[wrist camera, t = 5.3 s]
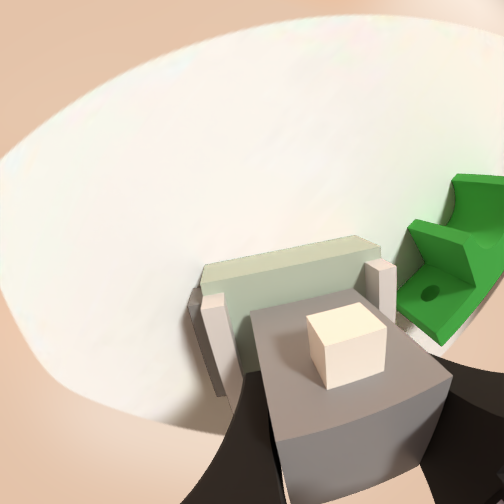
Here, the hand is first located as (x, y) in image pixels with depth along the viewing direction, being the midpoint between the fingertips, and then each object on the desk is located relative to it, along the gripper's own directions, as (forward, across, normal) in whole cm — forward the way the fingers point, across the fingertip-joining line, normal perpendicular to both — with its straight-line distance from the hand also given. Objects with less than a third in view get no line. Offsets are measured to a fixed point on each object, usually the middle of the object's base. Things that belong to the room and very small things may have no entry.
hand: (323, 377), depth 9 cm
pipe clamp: (+5, -10, -3) cm, 12 cm away
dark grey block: (+2, 0, 0) cm, 2 cm away
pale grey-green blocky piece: (+5, 0, 0) cm, 5 cm away
